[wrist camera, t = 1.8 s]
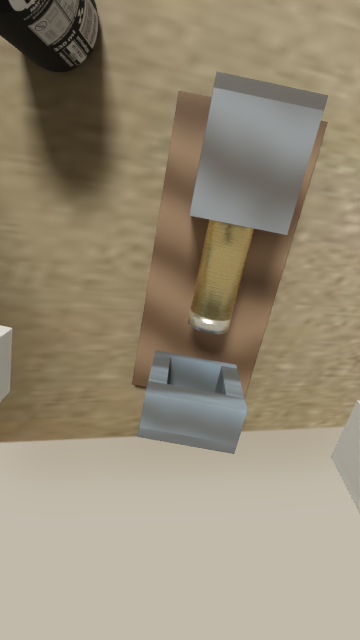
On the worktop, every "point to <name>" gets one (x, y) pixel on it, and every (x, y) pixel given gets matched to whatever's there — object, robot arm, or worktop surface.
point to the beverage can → (51, 30)
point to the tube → (219, 276)
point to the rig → (188, 241)
